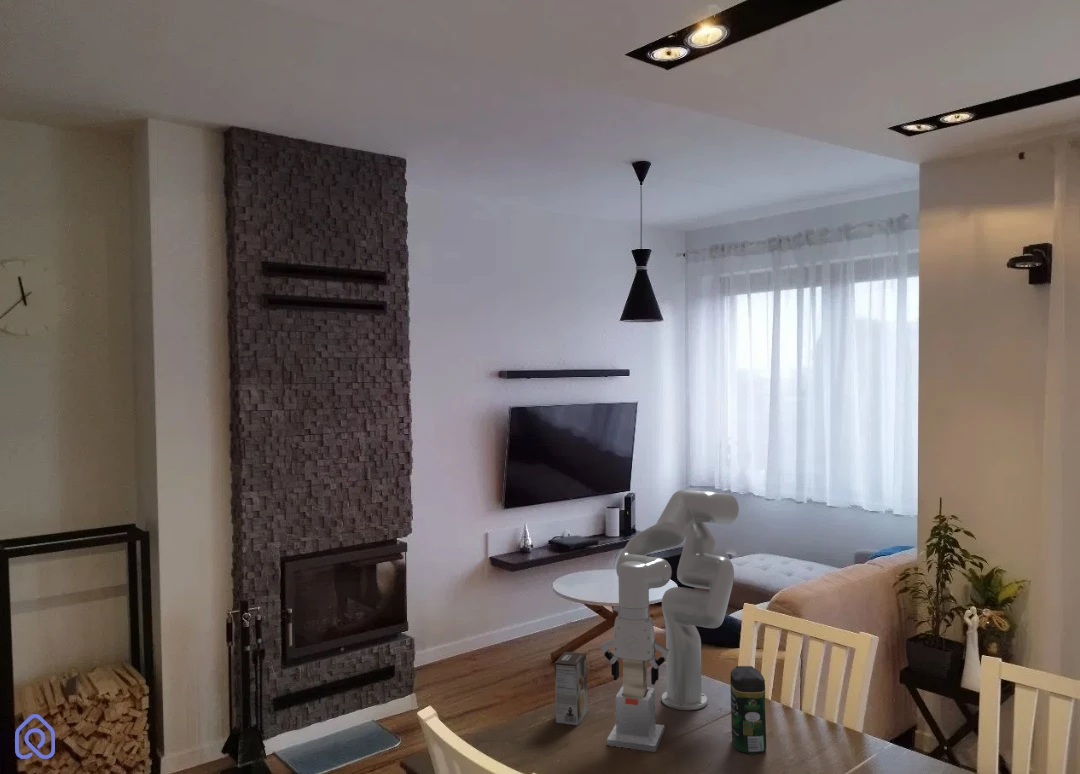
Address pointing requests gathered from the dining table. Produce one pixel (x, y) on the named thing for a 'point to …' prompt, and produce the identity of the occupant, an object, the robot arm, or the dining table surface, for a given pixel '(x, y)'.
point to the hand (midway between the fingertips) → (635, 680)
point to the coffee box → (571, 688)
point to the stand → (636, 723)
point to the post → (634, 678)
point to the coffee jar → (748, 710)
